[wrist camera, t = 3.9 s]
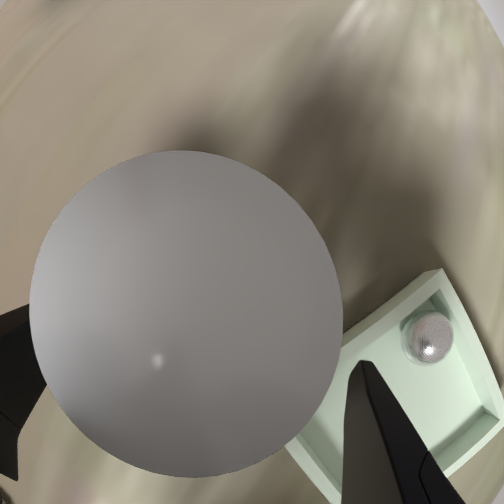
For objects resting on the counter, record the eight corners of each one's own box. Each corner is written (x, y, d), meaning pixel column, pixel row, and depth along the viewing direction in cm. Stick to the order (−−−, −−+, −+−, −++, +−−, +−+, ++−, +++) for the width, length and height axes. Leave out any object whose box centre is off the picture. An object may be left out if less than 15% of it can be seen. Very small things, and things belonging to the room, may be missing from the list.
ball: (445, 339, 17) (472, 345, 14) (407, 371, 17) (430, 383, 14) (422, 298, 17) (448, 298, 14) (383, 330, 17) (404, 336, 14)
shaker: (308, 317, 18) (406, 369, 4) (231, 366, 18) (133, 509, 4) (257, 240, 19) (216, 95, 5) (182, 290, 19) (-2, 265, 5)
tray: (490, 410, 16) (510, 419, 14) (351, 513, 16) (358, 534, 13) (422, 272, 18) (442, 268, 15) (255, 390, 18) (252, 403, 15)
